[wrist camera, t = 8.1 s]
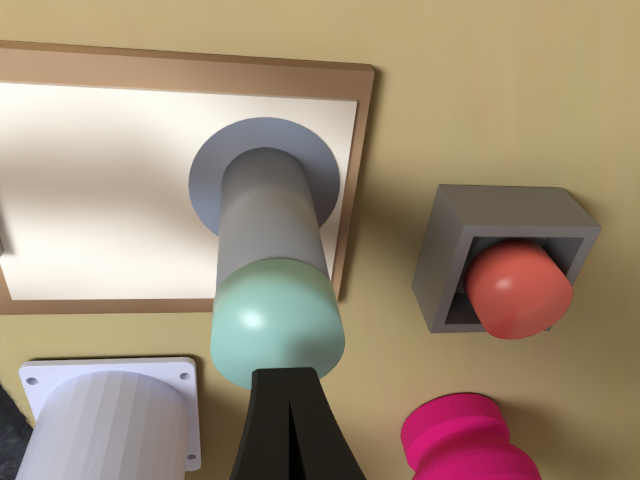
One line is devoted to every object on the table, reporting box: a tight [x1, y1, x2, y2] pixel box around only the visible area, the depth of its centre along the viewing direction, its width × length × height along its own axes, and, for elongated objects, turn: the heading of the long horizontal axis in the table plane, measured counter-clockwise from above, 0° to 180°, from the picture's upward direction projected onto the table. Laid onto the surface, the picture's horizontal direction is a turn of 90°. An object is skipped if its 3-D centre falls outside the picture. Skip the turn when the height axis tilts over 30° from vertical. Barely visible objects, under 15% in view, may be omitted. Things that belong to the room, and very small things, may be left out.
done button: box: [463, 239, 573, 339], centre depth 21 cm, size 4×4×2 cm
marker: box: [210, 147, 345, 390], centre depth 16 cm, size 3×3×8 cm
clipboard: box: [0, 40, 375, 315], centre depth 19 cm, size 11×15×2 cm
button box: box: [412, 185, 602, 333], centre depth 22 cm, size 6×6×3 cm
